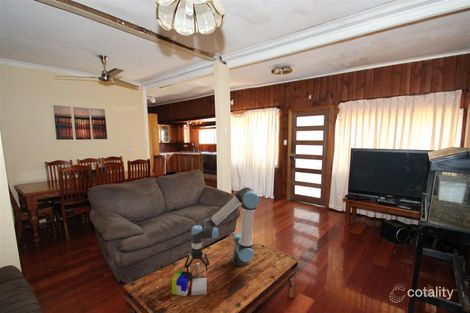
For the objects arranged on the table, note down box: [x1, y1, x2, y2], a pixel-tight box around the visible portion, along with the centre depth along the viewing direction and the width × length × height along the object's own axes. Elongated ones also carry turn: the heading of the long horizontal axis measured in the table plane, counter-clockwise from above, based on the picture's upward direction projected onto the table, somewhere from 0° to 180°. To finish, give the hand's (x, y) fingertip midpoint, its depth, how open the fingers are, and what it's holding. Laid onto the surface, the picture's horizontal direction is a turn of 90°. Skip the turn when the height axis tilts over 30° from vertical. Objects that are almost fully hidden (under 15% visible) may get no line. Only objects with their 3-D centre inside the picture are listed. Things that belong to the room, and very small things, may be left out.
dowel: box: [194, 262, 201, 279], centre depth 158 cm, size 4×4×10 cm
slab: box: [190, 277, 208, 296], centre depth 147 cm, size 10×12×4 cm
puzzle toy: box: [171, 270, 193, 297], centre depth 145 cm, size 10×10×10 cm
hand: (197, 274), depth 159 cm, fingers open, 11 cm apart
